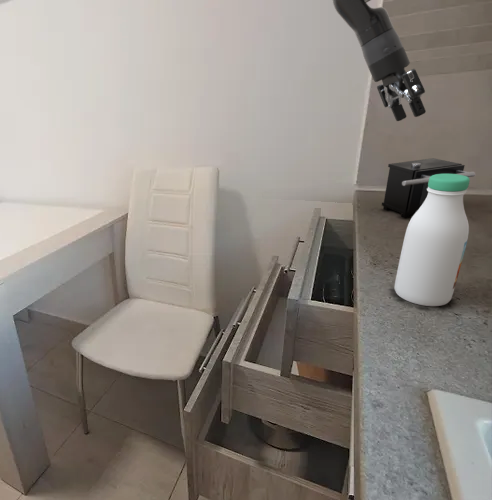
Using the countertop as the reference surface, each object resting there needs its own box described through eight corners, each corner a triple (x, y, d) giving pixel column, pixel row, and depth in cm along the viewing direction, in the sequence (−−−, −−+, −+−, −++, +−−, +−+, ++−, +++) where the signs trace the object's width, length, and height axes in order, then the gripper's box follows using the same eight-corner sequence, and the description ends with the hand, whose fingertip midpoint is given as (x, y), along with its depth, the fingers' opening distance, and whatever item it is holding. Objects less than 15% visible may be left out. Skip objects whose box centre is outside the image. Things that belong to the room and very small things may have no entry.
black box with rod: (449, 212, 91) (462, 160, 86) (404, 218, 90) (414, 166, 85) (423, 203, 99) (433, 154, 93) (380, 208, 98) (388, 160, 93)
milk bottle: (444, 313, 56) (479, 186, 48) (387, 297, 62) (410, 180, 53) (455, 292, 61) (489, 172, 53) (401, 279, 66) (424, 168, 58)
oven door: (469, 210, 86) (480, 168, 82) (398, 220, 85) (406, 178, 81) (452, 205, 90) (462, 164, 86) (385, 214, 89) (392, 174, 85)
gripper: (417, 36, 80) (445, 104, 82) (386, 55, 94) (411, 113, 96) (382, 56, 82) (410, 122, 84) (357, 71, 96) (381, 128, 98)
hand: (410, 117), depth 90 cm, fingers open, 8 cm apart
